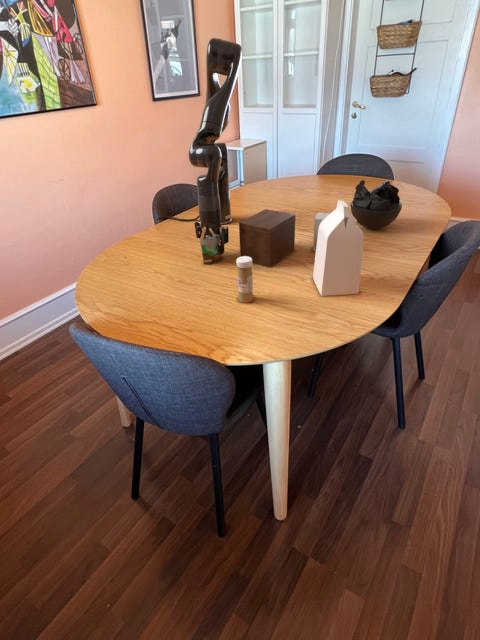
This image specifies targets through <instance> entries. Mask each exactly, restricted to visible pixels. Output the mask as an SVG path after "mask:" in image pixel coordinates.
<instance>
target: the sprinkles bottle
mask: <svg viewBox="0 0 480 640" xmlns="http://www.w3.org/2000/svg"><path fill="white" fill-rule="evenodd" d="M236 267H237V268H236V269H237V290H238V301H239V302H240V303H250V302H252V301H253V300H254V292H253V290H254V288H253V287H254V286H253V285H254V284H253V281H254V279H253V263H252V258H251V257H248V256H242V257H241V256H239V257H237V258H236Z"/></svg>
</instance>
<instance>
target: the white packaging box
mask: <svg viewBox="0 0 480 640" xmlns="http://www.w3.org/2000/svg"><path fill="white" fill-rule="evenodd" d="M331 213H332V212H317V213H316V215H315V217H314V220H313V222H314V223H313V240H312V242H313V243H312V244H313V245H312V251H313V252H316V246H317V238H318V230H319V225H320V223H321V222H322V221H323V220H324V219H325V218H326V217H327V216H328V215H330V214H331Z"/></svg>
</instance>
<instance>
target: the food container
mask: <svg viewBox="0 0 480 640" xmlns="http://www.w3.org/2000/svg"><path fill="white" fill-rule="evenodd" d="M219 235H220V234H218V235H216V236H219ZM219 239H220V241H221V238H219ZM199 240H200V241H199V245H200V248H201V254H202V261H203V265H211V264H216V263H217V262H219V261H220V260H221V255H220V254H219V253H218V243H217V242H218V240H217V239H216V237H213V236H210V235H207V234H205V236H204V238H203V239H199Z"/></svg>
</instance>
